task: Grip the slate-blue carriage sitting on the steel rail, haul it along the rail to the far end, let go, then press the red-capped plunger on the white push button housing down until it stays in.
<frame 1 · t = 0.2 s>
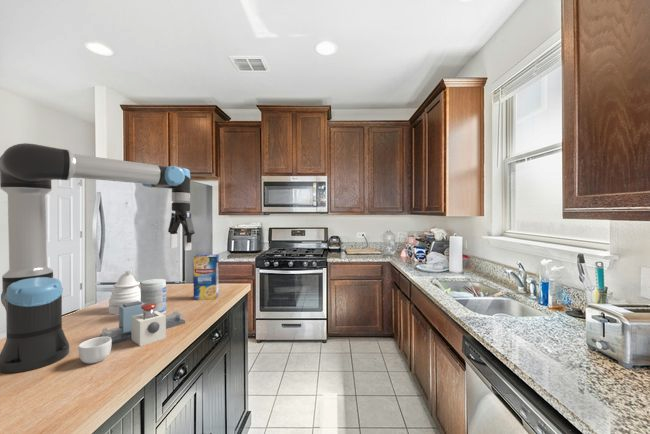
hand: (180, 249, 132), 28 cm above the countertop, tool pointing down, fingers open, 13 cm apart
honey pot: (126, 310, 132), on the countertop
blue cardboard box: (206, 298, 152), on the countertop
teacup: (98, 358, 88), on the countertop
rail: (145, 329, 109), on the countertop
supplement tub: (153, 315, 125), on the countertop
plunger: (148, 315, 101), point 8 cm above the countertop, slide at 0.0 cm
carriage: (132, 315, 106), point 6 cm above the countertop, slide at 4.2 cm
white push button housing: (148, 338, 101), on the countertop
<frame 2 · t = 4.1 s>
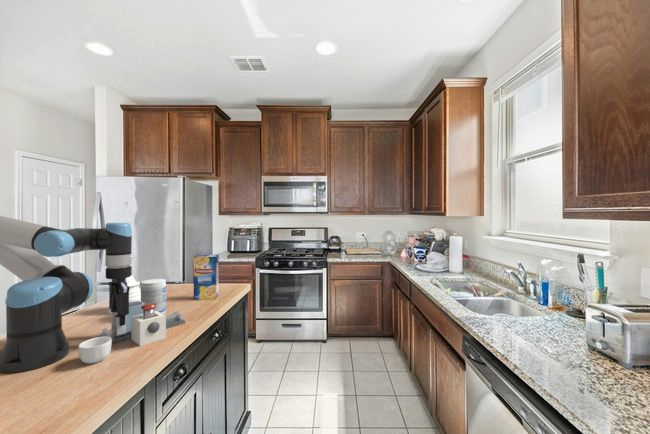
hand: (118, 332, 103), 2 cm above the countertop, tool pointing down, fingers closed on carriage, 5 cm apart
carriage: (132, 315, 106), point 6 cm above the countertop, slide at 4.2 cm, touching gripper
everything else where it was.
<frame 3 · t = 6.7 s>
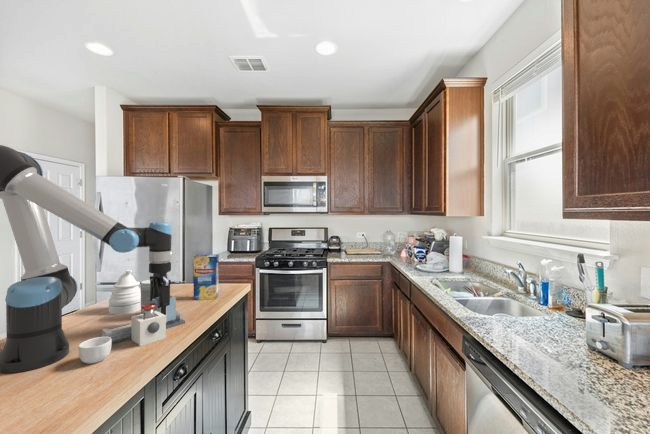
hand: (159, 321, 113), 2 cm above the countertop, tool pointing down, fingers closed on carriage, 5 cm apart
carriage: (164, 308, 114), point 6 cm above the countertop, slide at 15.1 cm, touching gripper
everything else where it was.
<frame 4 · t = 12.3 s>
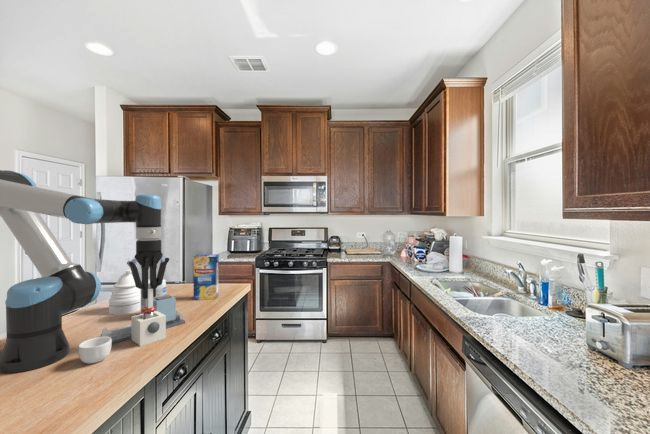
hand: (149, 307, 101), 11 cm above the countertop, tool pointing down, fingers closed
plunger: (148, 318, 101), point 7 cm above the countertop, slide at 1.0 cm, touching gripper
carriage: (163, 308, 114), point 6 cm above the countertop, slide at 15.0 cm
everything else where it was.
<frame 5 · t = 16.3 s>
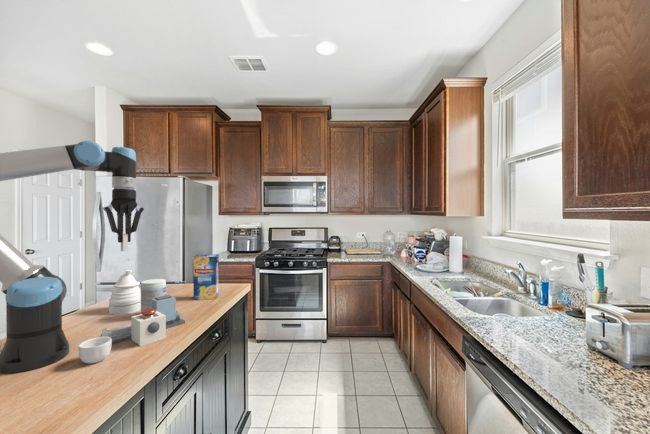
hand: (124, 250, 111), 29 cm above the countertop, tool pointing down, fingers closed
plunger: (148, 321, 101), point 6 cm above the countertop, slide at 1.9 cm
everything else where it was.
at the end: carriage slide at 15.0 cm; plunger slide at 1.9 cm; the gripper is holding nothing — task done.
